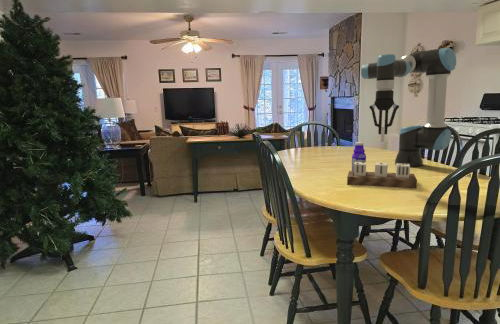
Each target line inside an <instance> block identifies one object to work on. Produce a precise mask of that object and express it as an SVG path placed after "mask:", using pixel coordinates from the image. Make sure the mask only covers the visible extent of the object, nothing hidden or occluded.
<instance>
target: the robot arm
mask: <svg viewBox="0 0 500 324" xmlns="http://www.w3.org/2000/svg"><path fill="white" fill-rule="evenodd" d="M376 61H377V62H371V63H365V64H363V65H362V66H361V68H360V75H361V77H362V78H363V79H364V80H374V79H376V81H375V82H376V83H375V90H376V91H375V100H374V103H373V104H372V105H370V106H369V109H370V110H371V115H372V118H373V119H372V120H373V124H374V126H375V127H377V128H378V129H377V130H378V135H380V142H381V143H383V142H385V135H388V128H389V127H392V126H393V123H394V119H395V118H396V117H395V116H396V113H397V110H398V109H399V108H400V105H398V104H396V103H395V101H394V94H395V93H394V88H395V78H404V77H407V76H408V74H410V73H412V74H413V73H415V74H416V73H417V74H420V73H421V74H422V73H423V74H424V73H425V76H426V77H427V79H428V89H427V90H428V91H427V108H426V109H427V110H426V123H424V124H423V125H410V126H402V127H401V128H400V129H399V135H398V136H399V139H398V141H399V142H398V152H397V155H396V157H395V159H394V164H395V165H396V163H398V164H405V163H407V164H409V165H410V168H411V167H413V168H414V167H415V168H416V167H422V166H423V162H424V161H423V158H422V157H423V156H422V154H421V149H422V150H423V149H425V150H433V151H443V150H445V149H446V148H448V146H449V144H450V143H451V140H452V131H451V130H450V129H449V128H448V125H447V124H446V123H445V116H446V103H447V102H446V101H447V98H446V97H447V85H448V77H450V76H451V74H452V71H454V70H455V68H456V66H457V56H456V54H455V51H454V50H453V49H452V48H450V47H446V48H445V47H443V48H442V47H441V48H435V49H428V50H421V51H417V52H414V53H410V54H406V55H404V56H402V57H400V58H396V55H395V54H392V53H389V54H380V55H379V56H378V57H377V59H376ZM375 108H376V109H377V110H378V111H379V112H378V113H379V114H378V122H377V116H376V112H375ZM391 108H393V110H392V112H391V116H390V119H389V111H390V110H391ZM384 111H385V112H384ZM383 112H384V126H382V123H383ZM388 121H389V122H388Z"/></svg>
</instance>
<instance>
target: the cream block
mask: <svg viewBox="0 0 500 324" xmlns="http://www.w3.org/2000/svg"><path fill="white" fill-rule="evenodd" d="M388 166H389V165H388V163H387V162H374V172H375V177H387V173H388Z"/></svg>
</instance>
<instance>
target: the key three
mask: <svg viewBox="0 0 500 324" xmlns="http://www.w3.org/2000/svg"><path fill="white" fill-rule="evenodd" d="M395 165H396V166H395V173H396V178H409V175H410V174H411V167H410V165H409V164H407V163H405V164H398V163H396V164H395Z"/></svg>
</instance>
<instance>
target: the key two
mask: <svg viewBox="0 0 500 324" xmlns="http://www.w3.org/2000/svg"><path fill="white" fill-rule="evenodd" d="M366 172H367V161H366V162H355V163H354V175H355V176H366Z"/></svg>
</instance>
